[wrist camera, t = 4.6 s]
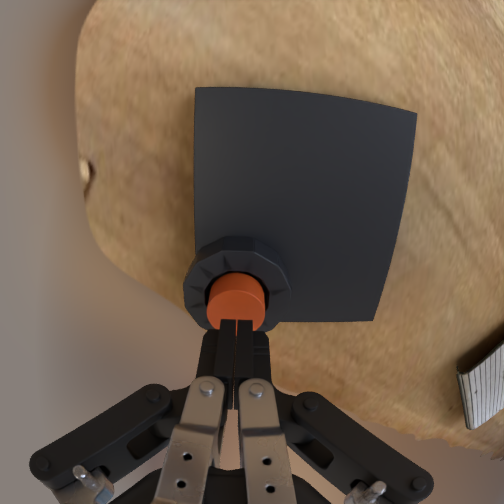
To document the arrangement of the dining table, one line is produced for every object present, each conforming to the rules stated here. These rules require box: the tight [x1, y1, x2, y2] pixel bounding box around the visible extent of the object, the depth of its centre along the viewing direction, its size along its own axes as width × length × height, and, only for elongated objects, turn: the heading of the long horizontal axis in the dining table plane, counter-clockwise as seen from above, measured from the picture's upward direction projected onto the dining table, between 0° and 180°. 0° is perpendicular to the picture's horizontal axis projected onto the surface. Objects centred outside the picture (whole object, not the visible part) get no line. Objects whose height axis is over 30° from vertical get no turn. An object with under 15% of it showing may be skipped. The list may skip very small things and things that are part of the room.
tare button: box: [207, 273, 265, 336], centre depth 16 cm, size 3×3×2 cm
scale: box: [183, 87, 417, 337], centre depth 16 cm, size 12×14×4 cm
